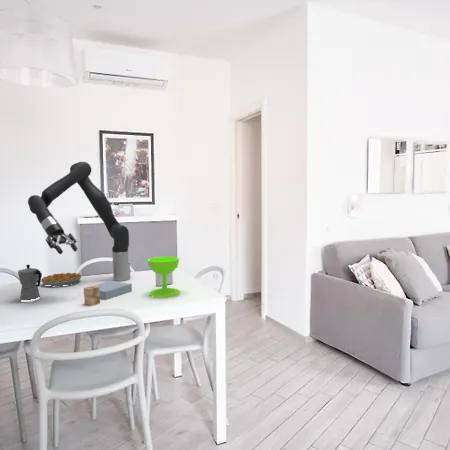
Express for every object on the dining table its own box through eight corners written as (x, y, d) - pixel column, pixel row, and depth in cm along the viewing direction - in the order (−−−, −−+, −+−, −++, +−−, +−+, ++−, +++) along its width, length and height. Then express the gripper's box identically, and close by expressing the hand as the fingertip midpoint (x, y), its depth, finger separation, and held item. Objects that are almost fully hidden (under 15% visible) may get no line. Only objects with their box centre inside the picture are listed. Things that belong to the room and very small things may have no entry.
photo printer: (169, 282, 228) (168, 261, 227) (174, 283, 225) (173, 262, 224) (154, 285, 221) (153, 264, 220) (159, 286, 218) (158, 265, 217)
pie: (54, 279, 244) (54, 271, 243) (88, 279, 241) (87, 271, 241) (33, 288, 222) (33, 279, 221) (70, 288, 219) (69, 279, 219)
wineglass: (183, 289, 211) (181, 256, 209) (176, 297, 195) (175, 262, 194) (154, 289, 213) (152, 256, 211) (145, 297, 197) (143, 262, 195)
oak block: (92, 301, 191) (92, 285, 191) (100, 303, 189) (99, 286, 188) (84, 304, 187) (83, 288, 186) (92, 305, 184) (91, 289, 184)
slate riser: (110, 287, 218) (109, 280, 217) (131, 291, 210) (131, 283, 210) (84, 295, 202) (83, 288, 202) (106, 299, 194) (106, 291, 194)
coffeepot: (12, 301, 195) (10, 265, 194) (29, 296, 204) (26, 262, 202) (34, 304, 189) (32, 267, 187) (50, 299, 197) (48, 263, 196)
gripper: (42, 223, 190) (59, 248, 185) (67, 221, 202) (84, 244, 197) (36, 234, 193) (53, 259, 188) (61, 231, 205) (77, 254, 200)
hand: (69, 251), depth 193 cm, fingers open, 8 cm apart
